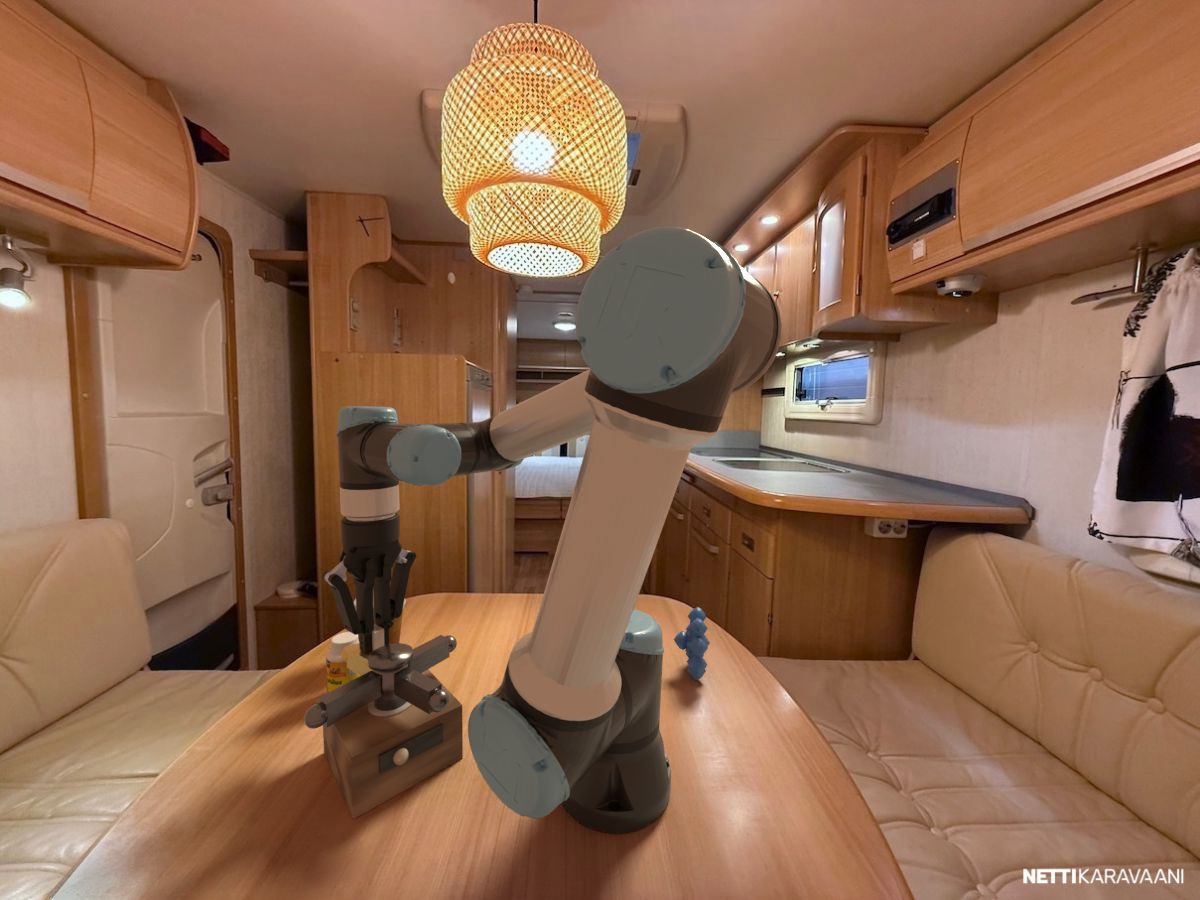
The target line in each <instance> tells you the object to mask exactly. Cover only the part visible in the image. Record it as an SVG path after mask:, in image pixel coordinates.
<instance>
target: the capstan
mask: <svg viewBox="0 0 1200 900" xmlns="http://www.w3.org/2000/svg"><path fill="white" fill-rule="evenodd" d="M358 642H359V641H358ZM359 643H360V642H359ZM359 643H357V644H351V645H348V646H346V647H345V648H344V649H343V650H342V653H341V659H342V660H343V661H344V662H345V663H347V668H348V669H350V670H352V671H354V672H355V673H357V674H359V675H361V676H360V677H358V678H356V679H354V680H352V681H350V682H348V683H346V684H344V685H342V686H340V687H338V688H337V689H335V690H333V691H331V692H329V693H325V694H323V695H321V696H319V697H318V698H317V699H316V702H317V703H315V704H313V705H311V706H310V707H309V708H308V709H307V710H306V711H305V713H304V716H303V723H304V725H305V727H307V728H310V729H318V728H320V727H323V725H324V726H325V727H329V726H331V725H333V724H334V723H336V722H338V721H340V720H341V719H343V718H345V717H346V716H348V715H350V714H352V713H353V712H355V711H357V710H359V709H360V708H362V707H364V706H366V705H367V704H369V703H371V702H372V701H374V706H375V708H376V709H378V710H381V711H390V710H394V709H397V708H399V707H401V706H403V705H404V704H405V703H406V702H408V703H410V704H412V705H414V706H415V707H417V708H419V709H421V710H423V711H424V712H426V713H428V714H430V713H432V712H441V711H443V710H444V709H445V708H446V707H447V706H448V703H449V694H448V693H447V691H445V690H443V689H442V684H443V683H442V682H441V683H442V684H441V683H439V682H437V681H435V680H433V679H431V678H429V677H427V676H425V675H423V674H421V673H423V672H424V671H426V670H428V669H429V670H430V669H431V668H433V667H435V666H437V665H438V664H440V663H441V662H443V661H445V660H447V659H448V658H450V653H452V652H454V651H455V649H456V648H457V647H458V646H457V645H458V641H457V639H456V637H455V636H453V635H450V634H447V635H443V634H440V635H438V636H436V637H434V638H432V639H430V640H428V641H426V642H424V643H422V644H420V645H418V646H416V647H415V648H414V647H412V646H411V645H409V644H407V643H400V642H399V643H395V644H389V645H385V646H382V647H380V648H378V649H376V650H374V651H372V652H370V653H367V654H365V653H363V652H362V651H360V646H359Z"/></svg>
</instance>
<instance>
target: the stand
mask: <svg viewBox="0 0 1200 900" xmlns="http://www.w3.org/2000/svg"><path fill="white" fill-rule="evenodd" d="M421 674H423V675H425V676H427V677H429V678H431V679H433V680H435V681H437V682H439V683H441V684H442V689H443V690H445V691H447V693H448V694H449V703H448V706H447V707H446V708H445V709H444V710H443V711H441V712H432V713H430V714H428V713H426V712H424V711H423V710H421V709H419V708H417V707H415V706H414V705H412V704H410V703H408V702H406V703H405V704H404V705H403V706H401V707H399V708H397V709H394V710H390V711H381V710H378V709H376V708H375V706H374V701H372V702H371V703H369V704H367V705H366V706H364V707H362V708H360V709H359V710H357V711H355V712H353V713H352V714H350V715H348V716H346V717H345V718H343V719H341V720H340V721H338V722H336V723H334V724H333V725H331V726H329V727H325V726H324V725H322V731H323V732H322V733H323V734H322V737H323V738H322V739H323V753H324V756H325V758H326V760H327V763H328V765H329V767H330V770H331V772H332V774H333V776H334V778H335V781H336V783H337V786H338V788H339V790H340V792H341V795H342V797H343V798H344V801H345V803H346V805H347V808H348V810H349V812H350V815H351V817H352V819H353V820H355V819H357V818H358V817H360V816H362V815H364V814H366V813H368V812H369V811H371V810H373V809H374V808H376V807H378V806H380V805H382V804H384V803H386V802H387V801H389V800H391V799H392V798H394V797H396V796H398V795H399V794H401V793H403V792H405V791H407V790H409V789H411V788H412V787H414V786H416V785H418V784H419V783H421V782H423V781H425V780H427V779H428V778H431V776H434V775H436V774H438V773H439V772H441V771H443V770H445V769H446V768H448V767H449V766H450V767H451V765H453V764H455V763H457V762H459V761H460V760H462V759H464V758H463V757H464V754H463V751H464V749H463V744H464V743H463V742H464V741H463V736H464V735H463V704H462V703H461V702H460V701H459V700H458V699H457V698H456V696H455V695H453V694H452V692H450V690H449V689H448V688H447V687H446V686H445V685H444V684H443V683H442V682H441V681H440V680H439V679H438V678H437V676H436V675H434V674H433V673H432V671H431V670H430V669H428V670H426V671H424V672H423V673H421Z"/></svg>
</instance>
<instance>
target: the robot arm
mask: <svg viewBox="0 0 1200 900" xmlns="http://www.w3.org/2000/svg"><path fill="white" fill-rule="evenodd" d="M782 325H783V324H782V318H781V312H780V309H779V306H778V304H777V303H776V300H775V299H774V297H773V295H772V293H771V292H770V291H769V289H768V288H767V287H766V286H765V285H764V284H762V282H760V281H759V280H758V279H757V278H755V277H753V276H752V275H751V274H749V273H748V271H746V270H745V269H744V268H743V267H742V266H741V265H740V263H738V261H737V259H736V258H735V257H734V256H733V255H732V253H731V252H730V251H729V250H728V249H727V248H726V247H723V246H722V245H721V244H720V243H717V242H716V241H713V240H709V239H708V238H706V237H705V236H703V235H701V234H699V233H697V232H695V231H693V230H690V229H688V228H683V227H676V226H657V227H651V228H649V229H645V230H642V231H639V232H637V233H635V234H633V235H631V236H628V237H627V239H625V240H624V241H623V242H621V243H620V244H619V245H618V246H616V247H613V248H611V249H610V250H609V251H607V253H606V254H605V255H604V256H603V257H602V258H601V259H600V260H599V261H598V262H597V263H596V265H595V266H594V268H593V269H592V271H591V273H590V274H589V276H588V278H587V280H586V282H585V284H584V286H583V288H582V291H581V293H580V296H579V299H578V303H577V307H576V314H575V336H576V337H575V338H576V341H577V342H578V343H580V345H581V350H580V355H581V357H582V359H583V361H584V363H585V364H586V365H587V367H588V368H589V369H587V370H585V371H582V372H581V373H579V374H577V375H575V376H572V377H571V378H568V379H566V380H565V381H562V382H561V383H559V384H556V385H553V386H552V387H550V388H548V389H546V390H543V391H542V392H540V393H538V394H536V395H533V396H532V397H529V398H527V399H525V400H524V401H521V402H519V403H518V404H515V405H513V406H511V407H509V408H507V409H505V410H502V411H501V412H499V413H497V414H495V415H493V416H491V417H488V418H487V419H484V420H482V421H477V422H448V423H447V422H446V423H445V422H444V423H442V422H439V423H435V422H434V423H400V422H399V419H398V413H397V411H396V409H395V408H393V407H390V406H370V405H368V406H365V405H364V406H363V405H362V406H361V405H359V406H358V405H357V406H356V405H355V406H349V405H348V406H343V407H342V408H341V409H340V410H338V413H337V431H336V433H335V434H336V438H337V454H338V456H337V457H338V474H339V499H340V514H341V515H342V516H343V518H342V519H341V520H340V532H341V533H340V534H341V535H340V536H341V545H342V552H341V554H340V556H339V563H338V564H337V565H336V566H335V567H334V568H332V569H331V570H325V571H324V572H323V573H322V575H321V578H322V579H323V581H325V583H326V584H327V585H329V587H330V590H331V591H332V594H333V598H334V600H335V603H336V607H337V610H338V613H339V615H340V619H341V622H342V625H343V629H344V630H346V631H347V632H351V633H353V634H355V635H357V634H359V641H358V642H360V643H359V646H360V651H362V652H363V653H365V654H367V653H370V652H372V651H374V650H376V649H378V648H380V647H382V646H385V645H388V644H389V628H391V627H392V626H393V622H391V621H392V620H393V619H394V618H399V617H400V616H401V614H402V609H403V610H404V608H403V604H404V599H406V593H407V587H408V584H409V578H410V572H411V567H413V564H414V563H415V560H416V558H417V554H416V552H414V551H411V550H407V549H404V548H403V547H402V543H401V542H400V540H399V538H400V537H401V524H400V523H401V522H400V521H401V518H400V515H399V514H398V513H397V512H399V510H400V508H401V506H400V505H401V504H400V503H401V502H400V485H399V483H400V482H404V483H406V484H408V485H409V484H410V485H412V486H418V487H421V486H428V487H429V486H430V487H435V486H440V485H443V484H445V483H446V482H447V481H449V480H450V479H451V478H455V477H460V476H467V475H472V474H473V475H474V474H479V473H487V472H488V473H489V472H501V471H505V470H510V469H512V468H513V469H514V468H515V467H518V466H520V464H522V462H523V461H524V460H525V459H527V458H530V457H532V456H535V455H538V454H540V453H542V452H543V453H544V452H546V451H548V450H551V449H553V448H556V447H558V446H561V445H564V444H567V443H570V442H571V441H574V440H577V439H580V438H582V437H585V436H588V435H589V437H588V440H587V443H586V447H585V450H584V453H583V458H582V461H581V463H580V464H581V465H580V469H579V471H578V474H577V478H576V482H575V485H574V489H573V493H572V496H571V498H570V502H569V506H568V510H567V512H566V516H565V518H564V519H565V520H564V523H563V527H562V530H561V534H560V537H559V540H558V543H557V547H556V551H555V553H554V557H553V561H552V564H551V568H550V571H549V574H548V576H547V577H548V578H547V581H546V585H545V588H544V590H543V591H544V592H543V595H542V598H541V602H540V605H539V609H538V613H537V616H536V619H535V623H534V627H533V630H532V631H530V632H528V633H526V634H524V635H523V636H522V637H520V638H519V639H518V640H517V641H516V643H515V644H514V645H513V647H512V649H511V652H510V653H509V658H508V661H507V664H506V668H505V671H504V675H503V677H502V682H501V684H500V686H499V687H498V688H497V689H496V690H495V691H494V692H492V693H491V694H489V693H488V694H486V695H483V697H482V699H481V700H480V701H479V702H478V703H477V704H476V705H475V706H474V707H473V709H472V710H471V712H470V714H469V717H468V720H467V721H468V722H467V735H468V742H469V747H470V750H471V754H472V756H473V759H474V761H475V764H476V766H477V768H478V771H479V773H480V775H481V776H482V778H483V779H484V781H485V784H487V786H488V787H489V789H490V790H491V792H492V793H493V794H494V795H495V796H496V797H497V799H499V801H500V802H502V804H503V805H505V807H507V808H508V809H509V810H510V811H513V812H514V813H515V814H517V815H519V816H521V817H527V818H529V819H533V820H537V819H542V818H544V817H547V816H548V815H550V814H552V812H553V811H554V810H555V809H557V808H558V807H559V805H560V804H562V806H563V807H564V809H565V810H566V811H567V812H568V814H569V815H570V816H571V817H573V819H575V820H576V821H577V822H578V823H580V824H582V825H584V826H585V827H588V828H590V829H593V830H595V831H599V832H603V833H609V834H623V833H624V834H626V833H631V832H636V831H639V830H642V829H644V828H645V827H647V826H649V825H651V824H652V823H653V822H654V821H656V820H657V819H658V818H659V817H660V816H661V814H663V813H664V811H665V809H666V807H667V805H668V804H669V800H670V798H671V797H670V796H671V790H672V789H671V788H672V787H671V785H672V771H671V765H670V760H669V758H668V755H667V753H666V751H665V746H664V745H665V744H664V741H663V737H662V733H661V730H660V721H661V719H660V718H661V699H662V698H661V697H662V683H663V682H662V681H663V679H662V677H663V675H662V674H663V657H664V656H663V655H664V653H665V648H664V645H663V642H664V641H663V630H662V627H661V625H660V623H659V622H657V621H656V619H655V618H654V617H653V616H651V615H650V614H648V613H645V612H643V611H641V610H638V609H635V605H636V603H637V599H638V597H639V595H640V592H641V589H642V586H643V583H644V582H645V581H644V580H645V578H646V575H647V573H648V570H649V566H650V564H651V562H652V558H653V555H654V553H655V550H656V547H657V544H658V542H659V539H660V536H661V533H662V531H663V528H664V525H665V523H666V519H667V516H668V514H669V511H670V508H671V505H672V502H673V499H674V497H675V494H676V492H677V490H678V489H677V488H678V486H679V483H680V481H681V477H682V474H683V471H684V469H685V466H686V464H687V461H688V458H689V456H690V452H691V449H692V448H693V447H695V445H696V444H699V443H701V442H703V441H706V440H708V439H711V438H712V437H714V436H716V435H717V433H718V430H719V429H720V426H721V423H722V420H723V418H724V414H725V411H726V409H727V406H728V404H729V400H730V399H731V395H733V394H736V393H739V392H742V391H743V390H745V389H747V388H749V387H751V386H752V385H753V384H755V383H757V381H758V380H760V378H762V377H763V375H764V374H766V372H767V371H768V370H769V368H770V367H771V366H772V364H773V363H774V361H775V359H776V356H777V355H778V351H779V348H780V344H781V340H782ZM392 568H393V570H392ZM347 572H348V573H349V574H350V575H351V576H352V577H353V583H354V586H355V599H356V609H355V606H354V600H353V597H352V593H351V591H350V588H349V586H348V584H347V582H346V581H348V577H347V574H346V573H347ZM373 599H374V608H373ZM356 611H357V612H356ZM374 621H375V622H376V624H374Z"/></svg>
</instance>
